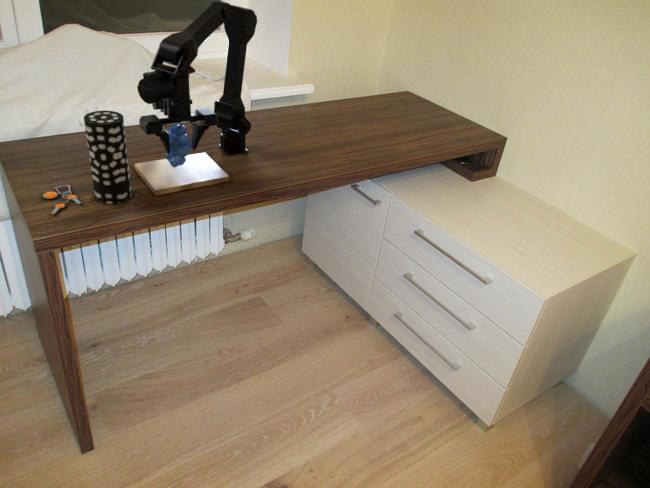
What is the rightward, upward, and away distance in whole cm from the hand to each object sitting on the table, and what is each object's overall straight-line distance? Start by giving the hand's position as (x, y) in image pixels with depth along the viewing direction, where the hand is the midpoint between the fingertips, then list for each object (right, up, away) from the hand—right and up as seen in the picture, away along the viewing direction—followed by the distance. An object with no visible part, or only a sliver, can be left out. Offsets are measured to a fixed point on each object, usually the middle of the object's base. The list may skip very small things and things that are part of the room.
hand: (181, 151), depth 142 cm
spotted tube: (-14, -12, -9) cm, 21 cm away
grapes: (-2, -4, +2) cm, 4 cm away
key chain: (-25, -14, -13) cm, 31 cm away
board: (-1, -6, +4) cm, 7 cm away
